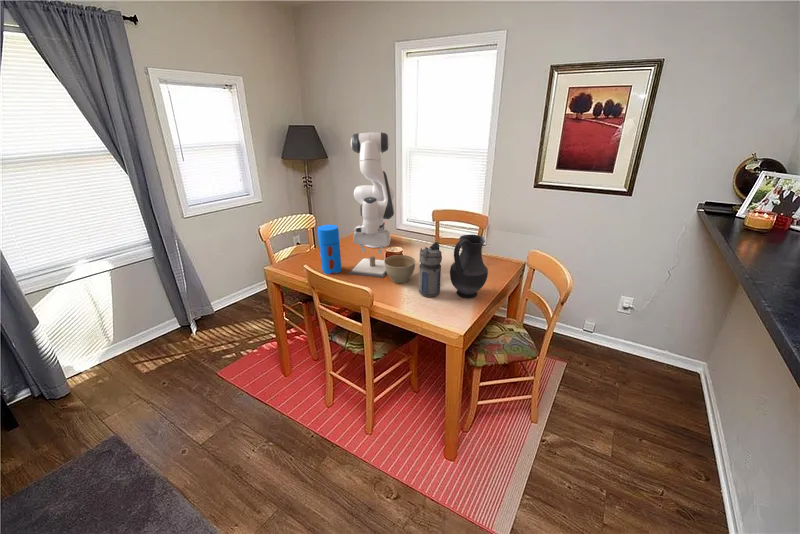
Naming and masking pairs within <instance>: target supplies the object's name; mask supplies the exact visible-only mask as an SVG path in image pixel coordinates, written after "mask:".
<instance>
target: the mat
mask: <svg viewBox="0 0 800 534" xmlns="http://www.w3.org/2000/svg"><path fill="white" fill-rule="evenodd" d="M366 259H369V258H368V257H367V258H366ZM375 259H376V258H375ZM376 260H379V259H378V258H377V259H376ZM354 268H355V266H354V267H353V268H352V269H351V270H350V271H349V272H348V275H355V276H363V277H364V276H365V277H373V278H379V279H384V278H385V276H386V275H388V274H387V272H385V273H384V274H383V275H377V274H368V273H359V272H352V270H353V269H354Z"/></svg>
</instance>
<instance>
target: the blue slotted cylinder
mask: <svg viewBox="0 0 800 534" xmlns="http://www.w3.org/2000/svg"><path fill="white" fill-rule="evenodd" d="M317 237H318V238H317V239H318V246H319V247H318V248H319V255H320V265H321V271H323V272H324V273H323V272H322V273H323V274H325V273H326V274H325V275H335V273H336V274H339V273H340V272H342V257H341V256H342V255H341V247H340V246H341V245H340V234H339V226H338V225H336V224H323V225H321V226H318V227H317ZM338 272H339V273H338Z"/></svg>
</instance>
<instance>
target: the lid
mask: <svg viewBox="0 0 800 534" xmlns="http://www.w3.org/2000/svg"><path fill="white" fill-rule="evenodd" d="M384 260H385V259H378V260H376V256H369V258H368V259H366V258H364V257H363V258H362V259H361V260H360V261H359V262H358V263H357V264H356V265H355V266H354V267H355V268H354V267H353V268H354V269H353V268H352V269H353V270H352V269H351V270H352V272H359V273H368V274H377V275H383V274H384V273H385V272H386V269H385V264H384Z"/></svg>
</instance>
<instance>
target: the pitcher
mask: <svg viewBox="0 0 800 534" xmlns="http://www.w3.org/2000/svg"><path fill="white" fill-rule="evenodd" d="M458 239H459V240H458V241H457V242H456V244H455V247H454V249H453V260H454V262H452V264H451V265H450V269H449V279H450V281H451V284H452V286H453V287H454V288H455V289H456V292H455V293H456V295H457V296H458V297H460V298H462V299H465V300H467V299H468V300H469V299H473V298H476V297H477V295H478V293H477V292H478V291H480V290H481V289H482V288H483V287H484V286H485V284H486V282H487V280H488V275H489V269H488V267H487V266H486V265H485V262H484V260H483V254H482V253H483V251H482V249H483V246H484V244H485V242H486V239H485V237H484V236H481V235H478V234H462V235H461V236H459V238H458Z"/></svg>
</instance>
